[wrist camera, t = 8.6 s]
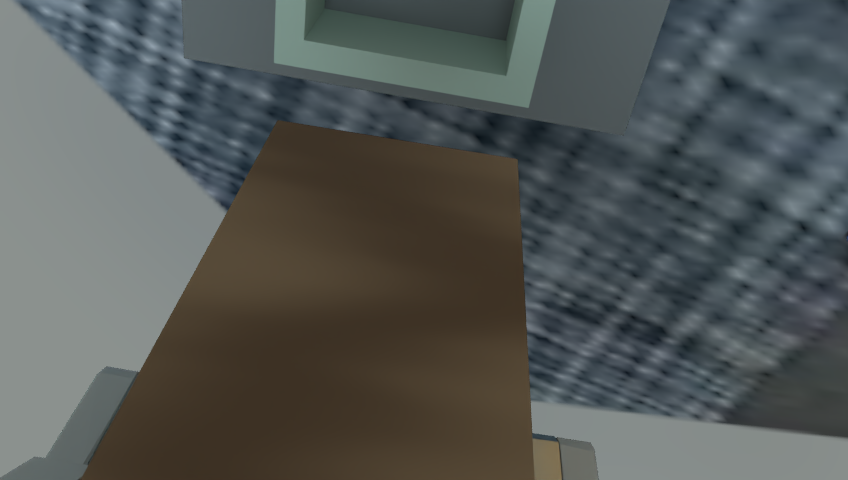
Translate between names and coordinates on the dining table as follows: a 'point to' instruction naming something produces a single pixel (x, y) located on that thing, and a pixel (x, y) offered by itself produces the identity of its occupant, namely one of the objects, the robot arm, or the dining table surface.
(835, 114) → the dining table surface
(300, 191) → the walnut block
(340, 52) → the board
